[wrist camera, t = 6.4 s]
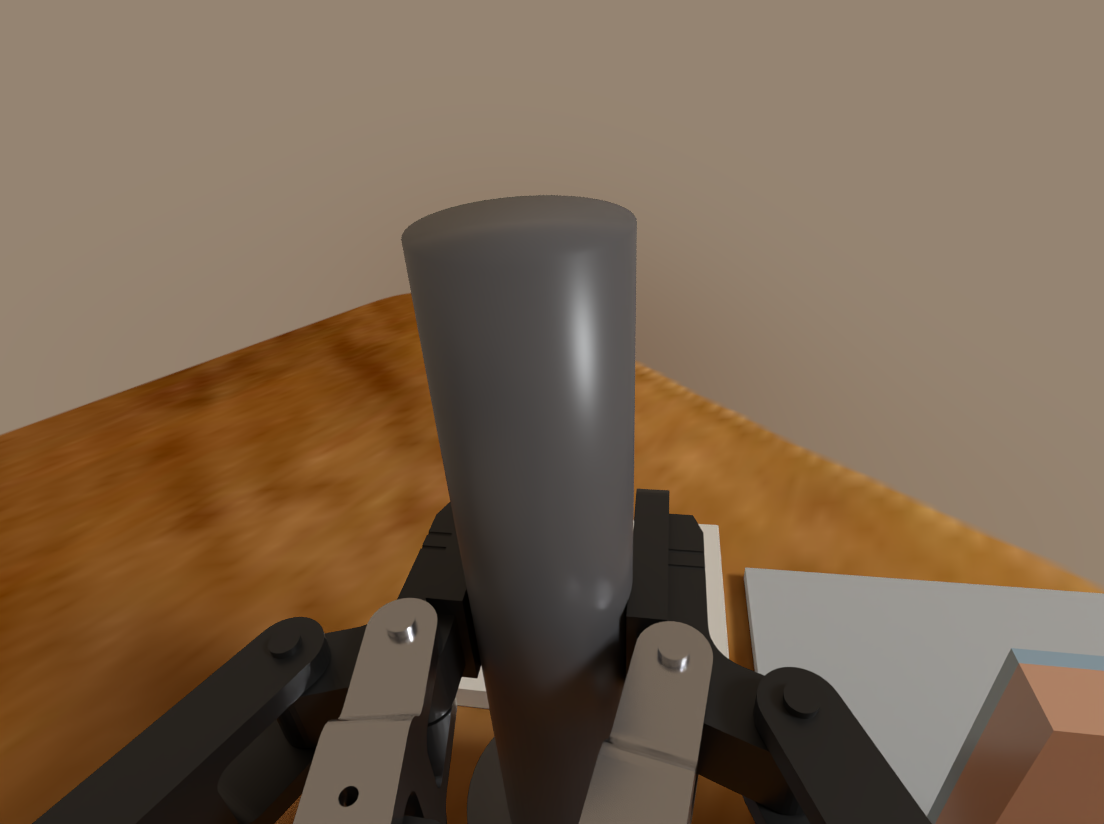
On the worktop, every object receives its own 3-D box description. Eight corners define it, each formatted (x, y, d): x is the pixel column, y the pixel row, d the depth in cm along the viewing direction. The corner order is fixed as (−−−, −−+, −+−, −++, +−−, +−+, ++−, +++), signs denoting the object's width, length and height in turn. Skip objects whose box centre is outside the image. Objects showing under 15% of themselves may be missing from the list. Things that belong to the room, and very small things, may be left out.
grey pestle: (464, 966, 16) (231, 299, 7) (507, 768, 20) (404, 183, 11) (664, 1003, 15) (734, 303, 6) (667, 790, 19) (710, 175, 10)
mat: (796, 1030, 15) (800, 1022, 15) (743, 577, 26) (745, 567, 26) (1484, 1159, 13) (1506, 1153, 12) (1097, 604, 24) (1104, 593, 24)
